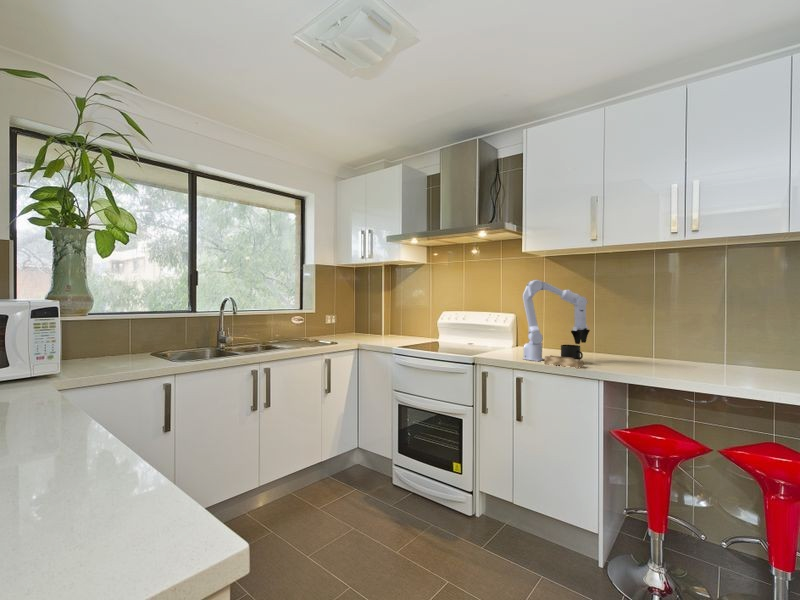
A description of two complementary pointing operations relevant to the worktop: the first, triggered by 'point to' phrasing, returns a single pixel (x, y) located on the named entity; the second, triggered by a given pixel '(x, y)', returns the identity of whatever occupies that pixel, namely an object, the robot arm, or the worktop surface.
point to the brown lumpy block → (563, 361)
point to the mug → (571, 351)
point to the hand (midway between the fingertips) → (580, 343)
